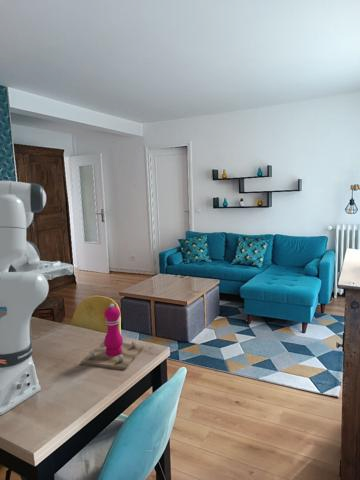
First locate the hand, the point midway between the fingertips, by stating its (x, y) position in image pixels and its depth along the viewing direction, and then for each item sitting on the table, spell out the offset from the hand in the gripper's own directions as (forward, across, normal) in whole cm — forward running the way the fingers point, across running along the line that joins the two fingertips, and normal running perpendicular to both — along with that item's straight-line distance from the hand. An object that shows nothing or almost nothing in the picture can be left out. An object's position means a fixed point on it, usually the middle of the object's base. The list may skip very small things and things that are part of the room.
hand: (61, 275), depth 143 cm
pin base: (+26, +3, +30) cm, 40 cm away
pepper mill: (+26, +3, +29) cm, 39 cm away
